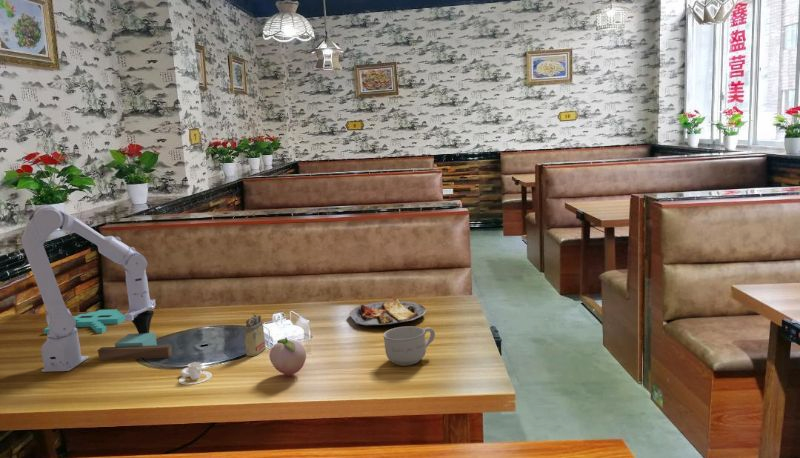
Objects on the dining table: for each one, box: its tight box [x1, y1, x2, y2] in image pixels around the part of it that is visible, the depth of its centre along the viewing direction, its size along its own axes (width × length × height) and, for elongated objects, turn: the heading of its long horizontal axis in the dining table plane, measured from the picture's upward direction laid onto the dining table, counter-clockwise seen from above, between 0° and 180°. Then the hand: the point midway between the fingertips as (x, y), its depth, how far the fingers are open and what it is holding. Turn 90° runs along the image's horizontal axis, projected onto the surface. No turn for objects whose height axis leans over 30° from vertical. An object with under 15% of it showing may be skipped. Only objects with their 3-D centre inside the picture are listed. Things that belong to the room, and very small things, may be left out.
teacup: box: [382, 325, 436, 366], centre depth 151 cm, size 14×11×8 cm
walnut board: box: [97, 344, 172, 361], centre depth 166 cm, size 2×20×3 cm, turn 87°
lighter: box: [243, 314, 267, 357], centre depth 164 cm, size 7×4×10 cm, turn 163°
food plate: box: [348, 297, 427, 326], centre depth 188 cm, size 25×23×4 cm
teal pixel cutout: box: [43, 308, 125, 335], centre depth 200 cm, size 20×2×20 cm
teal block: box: [114, 332, 158, 347], centre depth 170 cm, size 8×8×4 cm
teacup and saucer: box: [178, 361, 213, 386], centre depth 149 cm, size 9×8×4 cm
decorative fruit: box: [268, 336, 307, 377], centre depth 146 cm, size 9×8×10 cm
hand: (144, 336), depth 175 cm, fingers closed
